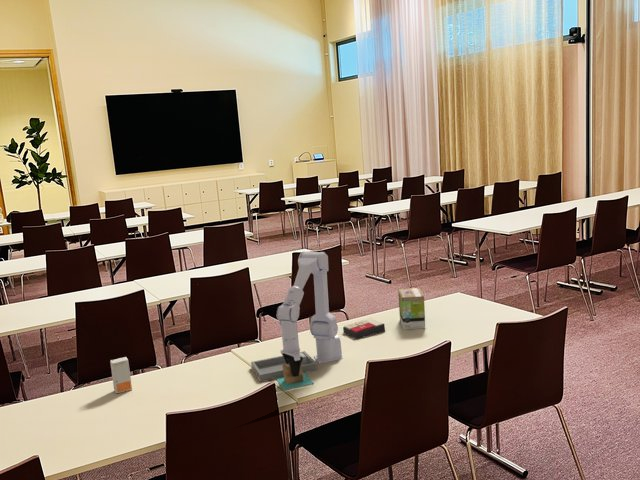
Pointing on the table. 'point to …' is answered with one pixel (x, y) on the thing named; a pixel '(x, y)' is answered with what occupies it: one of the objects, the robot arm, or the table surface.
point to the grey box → (303, 359)
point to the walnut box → (289, 377)
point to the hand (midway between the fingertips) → (293, 373)
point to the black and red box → (364, 328)
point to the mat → (294, 385)
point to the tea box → (411, 308)
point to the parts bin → (278, 367)
